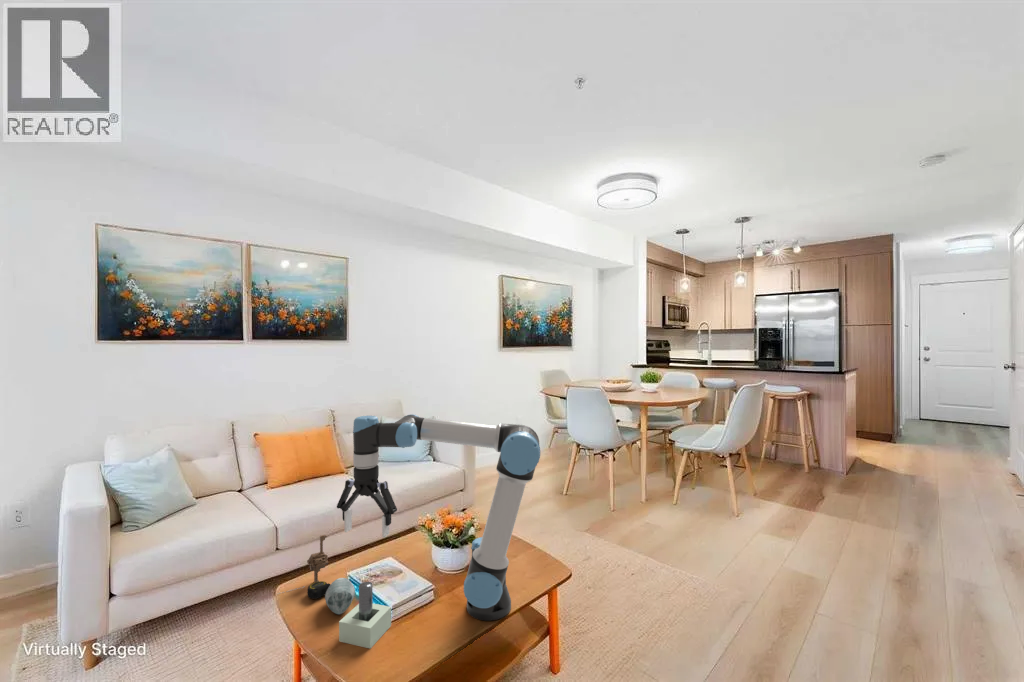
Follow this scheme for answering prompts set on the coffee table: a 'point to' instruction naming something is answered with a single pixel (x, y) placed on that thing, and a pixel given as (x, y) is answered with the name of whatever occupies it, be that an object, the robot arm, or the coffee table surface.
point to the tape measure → (317, 589)
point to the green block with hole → (365, 626)
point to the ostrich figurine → (317, 561)
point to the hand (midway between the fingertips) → (366, 533)
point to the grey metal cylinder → (365, 601)
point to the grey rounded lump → (340, 595)
